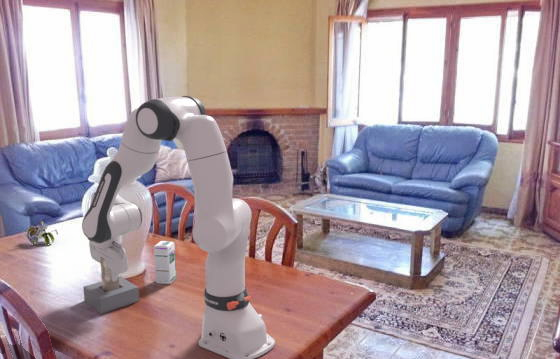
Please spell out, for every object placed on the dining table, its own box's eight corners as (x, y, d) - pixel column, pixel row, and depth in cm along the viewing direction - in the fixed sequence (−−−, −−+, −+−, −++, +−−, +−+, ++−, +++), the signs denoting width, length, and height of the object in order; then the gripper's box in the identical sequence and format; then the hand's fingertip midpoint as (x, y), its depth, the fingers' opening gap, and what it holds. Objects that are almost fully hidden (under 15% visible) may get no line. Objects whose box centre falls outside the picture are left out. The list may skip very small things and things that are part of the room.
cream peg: (120, 296, 164) (117, 257, 161) (108, 300, 161) (105, 260, 158) (114, 293, 167) (111, 254, 164) (103, 296, 164) (100, 257, 161)
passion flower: (34, 256, 220) (17, 235, 219) (53, 245, 229) (38, 224, 228) (44, 247, 214) (28, 225, 213) (64, 235, 223) (48, 214, 222)
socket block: (139, 301, 164) (138, 287, 163) (101, 313, 155) (100, 299, 154) (120, 289, 173) (120, 276, 172) (84, 300, 164) (83, 286, 163)
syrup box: (170, 284, 177) (168, 246, 174) (155, 283, 178) (153, 245, 176) (176, 278, 183) (175, 241, 180) (162, 277, 184) (160, 240, 181)
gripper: (131, 243, 155) (134, 284, 157) (103, 229, 169) (105, 267, 172) (112, 248, 150) (115, 290, 153) (84, 233, 165) (88, 272, 167)
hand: (110, 278), depth 163 cm, fingers closed on cream peg, 4 cm apart
